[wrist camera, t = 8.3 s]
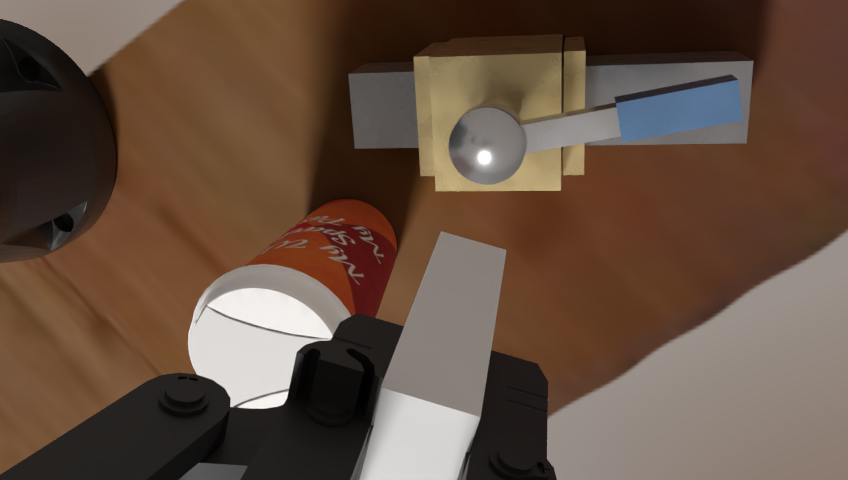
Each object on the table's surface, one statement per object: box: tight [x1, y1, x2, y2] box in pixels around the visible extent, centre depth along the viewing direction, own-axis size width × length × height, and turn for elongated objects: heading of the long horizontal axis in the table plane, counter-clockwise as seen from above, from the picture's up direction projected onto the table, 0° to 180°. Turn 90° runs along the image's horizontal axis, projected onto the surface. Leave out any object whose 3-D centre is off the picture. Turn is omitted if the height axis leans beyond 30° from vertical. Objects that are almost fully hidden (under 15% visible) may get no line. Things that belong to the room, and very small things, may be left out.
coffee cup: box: [188, 199, 397, 409], centre depth 42 cm, size 8×8×15 cm
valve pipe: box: [348, 34, 753, 191], centre depth 39 cm, size 20×6×11 cm, turn 93°
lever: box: [449, 74, 743, 185], centre depth 32 cm, size 3×12×1 cm, turn 103°
